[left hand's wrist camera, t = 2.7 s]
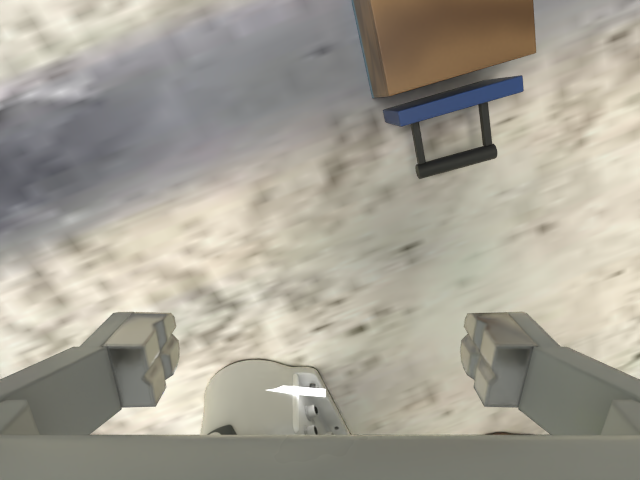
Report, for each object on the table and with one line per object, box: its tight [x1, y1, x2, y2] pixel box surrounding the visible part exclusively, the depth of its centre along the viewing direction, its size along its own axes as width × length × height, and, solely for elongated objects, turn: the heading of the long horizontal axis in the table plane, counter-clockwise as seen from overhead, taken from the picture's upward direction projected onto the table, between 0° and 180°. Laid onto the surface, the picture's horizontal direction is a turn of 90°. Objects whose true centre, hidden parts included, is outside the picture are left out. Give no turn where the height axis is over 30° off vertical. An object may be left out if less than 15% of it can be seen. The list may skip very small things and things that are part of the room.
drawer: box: [383, 76, 523, 179], centre depth 30 cm, size 21×10×7 cm, turn 16°
